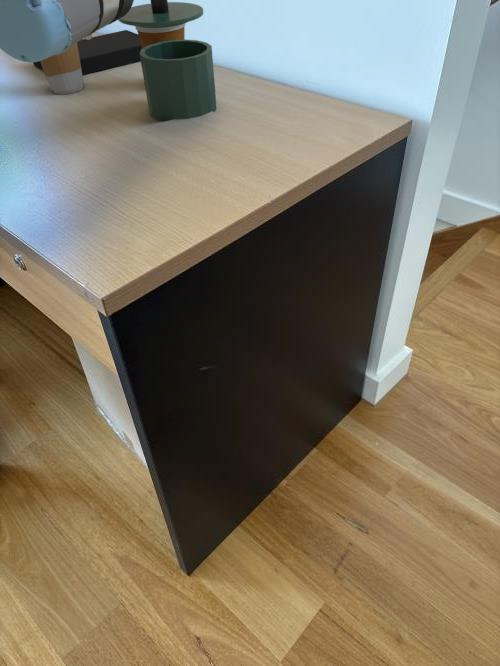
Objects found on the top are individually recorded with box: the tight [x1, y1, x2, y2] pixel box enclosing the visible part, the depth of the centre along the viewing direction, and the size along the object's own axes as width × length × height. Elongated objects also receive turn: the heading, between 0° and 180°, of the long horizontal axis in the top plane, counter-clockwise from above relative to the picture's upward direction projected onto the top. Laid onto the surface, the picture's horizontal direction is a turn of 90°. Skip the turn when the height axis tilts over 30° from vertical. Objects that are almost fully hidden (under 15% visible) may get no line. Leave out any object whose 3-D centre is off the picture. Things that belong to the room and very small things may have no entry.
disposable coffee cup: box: [134, 23, 186, 49], centre depth 95 cm, size 10×10×12 cm
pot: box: [140, 39, 217, 122], centre depth 86 cm, size 12×12×10 cm
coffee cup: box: [40, 43, 85, 95], centre depth 94 cm, size 8×8×15 cm
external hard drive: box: [32, 29, 142, 76], centre depth 111 cm, size 14×23×3 cm, turn 127°
